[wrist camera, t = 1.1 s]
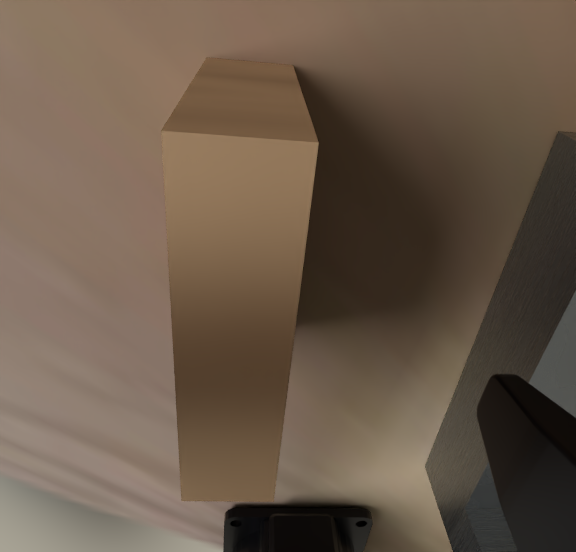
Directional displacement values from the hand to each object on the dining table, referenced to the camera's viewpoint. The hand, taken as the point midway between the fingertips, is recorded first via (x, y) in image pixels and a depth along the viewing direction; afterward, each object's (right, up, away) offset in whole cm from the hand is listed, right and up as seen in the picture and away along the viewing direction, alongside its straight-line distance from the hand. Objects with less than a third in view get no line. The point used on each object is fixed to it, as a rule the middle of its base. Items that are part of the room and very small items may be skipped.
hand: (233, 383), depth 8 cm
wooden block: (0, +4, +5) cm, 6 cm away
